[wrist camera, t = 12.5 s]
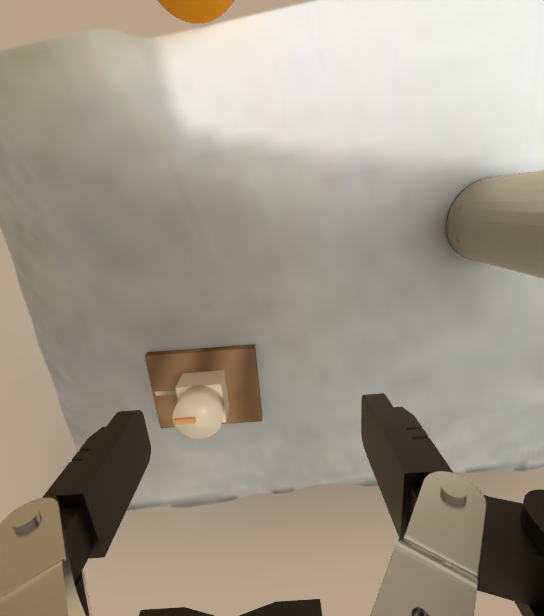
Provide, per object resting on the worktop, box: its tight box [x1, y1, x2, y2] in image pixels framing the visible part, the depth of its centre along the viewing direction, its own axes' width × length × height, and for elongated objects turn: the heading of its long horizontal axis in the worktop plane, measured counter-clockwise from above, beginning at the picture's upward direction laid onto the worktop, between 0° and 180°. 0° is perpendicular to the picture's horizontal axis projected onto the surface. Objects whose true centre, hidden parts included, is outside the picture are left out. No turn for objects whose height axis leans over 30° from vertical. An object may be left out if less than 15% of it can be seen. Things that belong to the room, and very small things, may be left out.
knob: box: [173, 370, 229, 439], centre depth 39 cm, size 6×6×6 cm
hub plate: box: [145, 345, 262, 428], centre depth 41 cm, size 14×11×4 cm
